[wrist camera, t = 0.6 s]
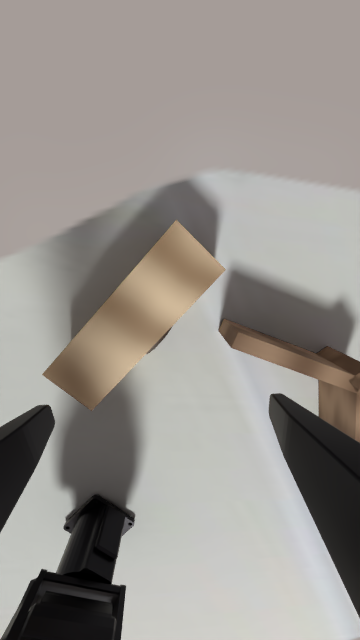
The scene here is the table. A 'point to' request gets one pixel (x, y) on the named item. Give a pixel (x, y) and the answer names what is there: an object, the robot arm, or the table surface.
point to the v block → (309, 372)
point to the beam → (135, 316)
